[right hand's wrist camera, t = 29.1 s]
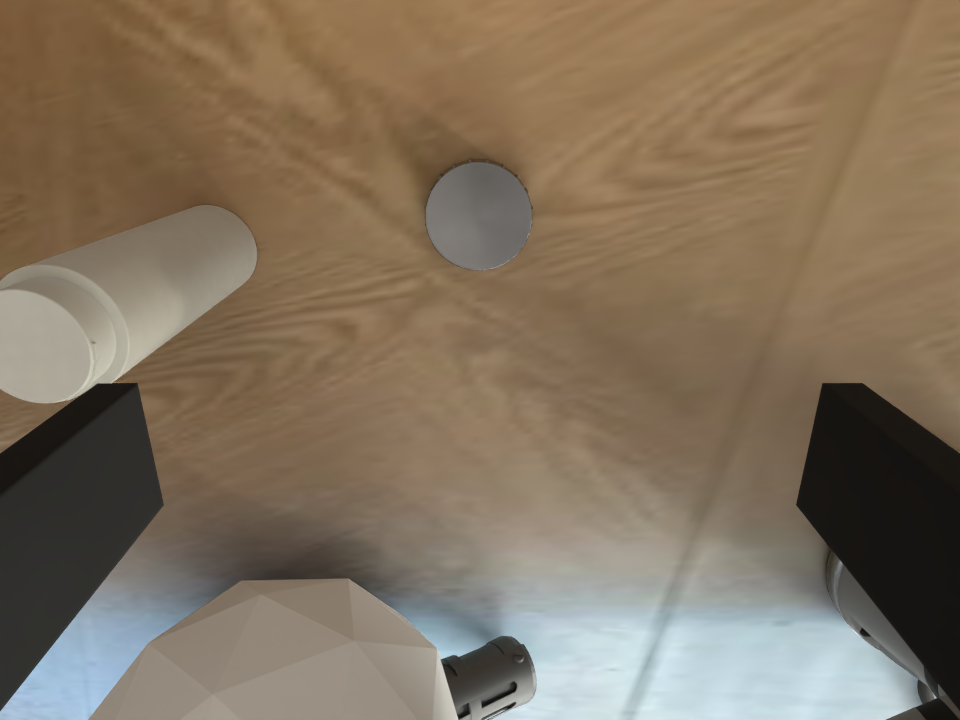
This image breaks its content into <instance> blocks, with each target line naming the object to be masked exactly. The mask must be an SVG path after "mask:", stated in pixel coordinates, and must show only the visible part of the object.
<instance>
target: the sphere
mask: <svg viewBox="0 0 960 720" xmlns="http://www.w3.org/2000/svg"><path fill="white" fill-rule="evenodd" d="M536 685H537V684H536V673H535V669H534V665H533V662H532V659H531V657H530V655H529V652H528V651H527V649H526V647H525V646H524V644H520V643H519V642H518V641H517V640H516V639H515V638H513V637H510V636H501V637H498V638H496V639H494V640H492V641H490V642H488V643H487V644H486V645H484V646H483V647H481V648H479V649H476V650H474V651H472V652H470V653H467V654H465V655H463V656H460V657H458V656H455V655H452V656H449V657H447V658H444V659H440V656H439V653H438V649H437V648H436V647H435V646H434V645H433V644H432V643H431V642H430V641H429V640H428V639H427V638H426V637H425V636H424V635H422V634H421V633H420V632H419V631H418V630H417V629H416V628H415V627H414V626H413V625H412V624H411V623H410V622H409V621H408V620H407V619H406V618H405V617H404V616H403V615H401V614H400V613H398V612H397V611H395V610H394V609H392V608H391V607H390V606H388V605H387V604H385V603H384V602H382V601H381V600H379V599H378V598H376V597H375V596H373V595H372V594H370V593H369V592H367V591H366V590H364V589H363V588H362V587H360V586H359V585H357V584H356V583H354V582H353V581H351V580H350V579H300V580H247V581H240V582H238V583H237V584H235V585H234V586H232V587H231V588H229V589H228V590H226V591H225V592H223V593H222V594H220V595H219V596H218V597H216V598H215V599H213V600H212V601H210V602H209V603H207V604H206V605H204V606H203V607H201V608H200V609H198V610H197V611H195V612H194V613H192V614H191V615H189V616H188V617H186V618H185V619H183V620H182V621H180V622H179V623H177V624H176V625H174V626H173V627H172V628H170V629H169V630H167V631H166V632H164V633H163V634H161V635H160V636H158V637H157V638H155V639H154V640H152V641H151V642H149V643H148V644H147V645H146V647H145V648H144V649H143V651H142V652H141V653H140V654H139V656H138V657H137V658H136V660H135V661H134V662H133V663H132V665H131V666H130V667H129V668H128V670H127V671H126V672H125V674H124V675H123V676H122V677H121V679H120V680H119V681H118V683H117V684H116V685H115V686H114V688H113V689H112V690H111V691H110V693H109V694H108V695H107V697H106V698H105V699H104V700H103V702H102V703H101V704H100V705H99V707H98V708H97V709H96V711H95V712H94V713H93V714H92V716H91V717H90V718H89V720H485V719H487V718H489V717H490V716H492V715H494V714H496V713H498V712H500V711H502V710H505V711H503V712H501V713H499V714H497V715H495V716H493V717H491V718H489V719H487V720H492V719H494V718H496V717H497V716H499V715H501V714H503V713H505V712H507V711H509V710H511V709H513V708H516V707H518V706H521V705H523V704H526V703H528V702H529V701H530V700H531V699H532V698H533V696H534V695H535V692H536Z"/></svg>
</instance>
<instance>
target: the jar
mask: <svg viewBox="0 0 960 720" xmlns="http://www.w3.org/2000/svg"><path fill="white" fill-rule="evenodd" d="M256 263H257V247H256V243H255V240H254V237H253V235H252V233H251V231H250V230H249V228H248V227H247V225H246V224H245V223H244V222H243V221H242V220H241V219H240V218H239V217H238V216H236V215H235V214H234V213H232V212H230V211H228V210H226V209H224V208H221V207H218V206H213V205H200V206H195V207H192V208H189V209H186V210H183V211H180V212H178V213H175V214H172V215H169V216H166V217H163V218H161V219H158V220H155V221H152V222H149V223H146V224H143V225H141V226H138V227H135V228H132V229H129V230H126V231H123V232H121V233H118V234H115V235H112V236H109V237H106V238H104V239H101V240H98V241H95V242H92V243H89V244H86V245H84V246H81V247H78V248H75V249H72V250H69V251H67V252H64V253H61V254H58V255H55V256H52V257H49V258H47V259H44V260H41V261H38V262H35V263H32V264H29V265H27V266H24V267H21V268H19V269H16V270H14V271H12V272H11V273H9V274H8V275H6V276H5V277H4V278H3V279H2V280H1V281H0V389H1V390H3V391H4V392H6V393H8V394H10V395H12V396H14V397H16V398H19V399H22V400H25V401H29V402H35V403H56V402H61V401H66V400H67V401H68V400H71V399H73V398H75V397H77V396H79V395H81V394H83V393H85V392H86V391H88V390H89V389H90V388H92V387H93V386H94V385H96V384H97V383H113V382H114V381H115V380H117V379H118V378H119V377H121V376H122V375H123V374H125V373H126V372H127V371H129V370H130V369H131V368H133V367H134V366H135V365H137V364H138V363H139V362H141V361H142V360H143V359H145V358H146V357H147V356H149V355H150V354H151V353H152V352H154V351H155V350H156V349H158V348H159V347H160V346H162V345H163V344H164V343H166V342H167V341H168V340H170V339H171V338H172V337H174V336H175V335H176V334H178V333H179V332H180V331H182V330H183V329H184V328H186V327H187V326H188V325H190V324H191V323H192V322H194V321H195V320H196V319H198V318H199V317H200V316H202V315H203V314H204V313H206V312H207V311H208V310H210V309H211V308H212V307H214V306H215V305H216V304H218V303H219V302H220V301H222V300H223V299H224V298H226V297H227V296H228V295H230V294H231V293H232V292H234V291H235V290H236V289H238V288H239V287H240V286H242V285H243V284H244V283H245V282H246V281H247V280H248V279H249V278H250V277H251V275H252V274H253V272H254V270H255V267H256Z"/></svg>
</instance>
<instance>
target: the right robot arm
mask: <svg viewBox="0 0 960 720" xmlns="http://www.w3.org/2000/svg"><path fill="white" fill-rule="evenodd" d="M163 505H164V504H163V499H162V494H161V490H160V485H159V481H158V476H157V471H156V467H155V462H154V457H153V453H152V448H151V444H150V439H149V434H148V430H147V425H146V420H145V416H144V411H143V407H142V402H141V397H140V393H139V388H138V383H97V384H96V385H94V386H93V387H92V388H90V389H89V390H88V391H86V392H85V393H83V394H82V395H81V396H79V397H78V398H77V399H75V400H74V401H72V402H71V403H70V404H68V405H67V406H65V407H64V408H63V409H61V410H60V411H59V412H57V413H56V414H54V415H53V416H52V417H50V418H49V419H48V420H46V421H45V422H43V423H42V424H41V425H39V426H38V427H36V428H35V429H34V430H32V431H31V432H30V433H28V434H27V435H25V436H24V437H23V438H21V439H20V440H19V441H17V442H16V443H14V444H13V445H12V446H10V447H9V448H7V449H6V450H5V451H3V452H2V453H1V454H0V711H1V710H2V708H3V707H4V706H5V705H6V703H7V702H8V701H9V699H10V698H11V697H12V696H13V694H14V693H15V692H16V691H17V689H18V688H19V687H20V686H21V684H22V683H23V682H24V681H25V679H26V678H27V677H28V676H29V674H30V673H31V672H32V670H33V669H34V668H35V667H36V665H37V664H38V663H39V662H40V660H41V659H42V658H43V657H44V655H45V654H46V653H47V652H48V650H49V649H50V648H51V647H52V645H53V644H54V643H55V641H56V640H57V639H58V638H59V636H60V635H61V634H62V633H63V631H64V630H65V629H66V628H67V626H68V625H69V624H70V623H71V621H72V620H73V619H74V618H75V616H76V615H77V614H78V612H79V611H80V610H81V609H82V607H83V606H84V605H85V604H86V602H87V601H88V600H89V599H90V597H91V596H92V595H93V594H94V592H95V591H96V590H97V589H98V587H99V586H100V585H101V583H102V582H103V581H104V580H105V578H106V577H107V576H108V575H109V573H110V572H111V571H112V570H113V568H114V567H115V566H116V565H117V563H118V562H119V561H120V560H121V558H122V557H123V556H124V554H125V553H126V552H127V551H128V549H129V548H130V547H131V546H132V544H133V543H134V542H135V541H136V539H137V538H138V537H139V536H140V534H141V533H142V532H143V531H144V529H145V528H146V527H147V526H148V524H149V523H150V522H151V520H152V519H153V518H154V517H155V515H156V514H157V513H158V512H159V510H160V509H161V508H162V507H163ZM796 505H797V507H798V508H799V509H800V510H801V512H802V513H803V514H804V515H805V517H806V518H807V519H808V520H809V522H810V523H811V524H812V526H813V527H814V528H815V529H816V531H817V532H818V533H819V534H820V536H821V537H822V538H823V539H824V541H825V542H826V543H827V544H828V546H829V547H830V548H831V551H830V554H829V558H828V562H827V568H826V581H827V587H828V591H829V594H830V597H831V599H832V601H833V603H834V605H835V606H836V608H837V609H838V611H839V612H840V613H841V615H842V616H843V618H844V619H845V621H846V622H847V623H848V625H849V626H850V627H851V628H852V629H853V630H854V631H855V632H856V633H857V634H858V635H859V636H860V637H862V638H863V639H864V640H865V641H867V642H868V643H869V644H871V645H872V646H874V647H875V648H877V649H879V650H880V651H882V652H883V653H884V654H885V655H886V656H888V657H889V658H890V659H891V660H893V661H894V662H895V663H897V664H898V665H900V666H901V667H902V668H904V669H905V670H907V671H908V672H909V673H911V674H912V675H913V676H915V677H916V678H918V693H919V696H920V699H921V701H922V704H923V705H920V706H918V707H916V708H915V707H914V708H912V709H910V710H907V711H905V712H903V713H900V714H898V715H896V716H893V717H891V718H889V719H887V720H960V454H959V453H958V452H957V451H955V450H954V449H953V448H951V447H950V446H948V445H947V444H946V443H944V442H943V441H941V440H940V439H939V438H937V437H936V436H935V435H933V434H932V433H930V432H929V431H928V430H926V429H925V428H924V427H922V426H921V425H919V424H918V423H917V422H915V421H914V420H912V419H911V418H910V417H908V416H907V415H906V414H904V413H903V412H901V411H900V410H899V409H897V408H896V407H895V406H893V405H892V404H890V403H889V402H888V401H886V400H885V399H883V398H882V397H881V396H879V395H878V394H877V393H875V392H874V391H872V390H871V389H870V388H868V387H867V386H866V385H864V384H863V383H822V388H821V393H820V397H819V402H818V407H817V411H816V416H815V420H814V425H813V430H812V434H811V439H810V444H809V448H808V453H807V457H806V462H805V467H804V471H803V476H802V481H801V485H800V490H799V494H798V499H797V504H796ZM932 692H933V693H934V695H935V696H936V697H937V698H936V699H934V697H933V693H932Z"/></svg>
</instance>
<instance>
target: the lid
mask: <svg viewBox="0 0 960 720" xmlns="http://www.w3.org/2000/svg"><path fill="white" fill-rule="evenodd" d="M518 178H519V177H518V176H517V174H516V175H515V174H514V173H513V172H511V171H510V170H509V169H507V168H506V167H505V166H504V164H502V165H501V164H499V163H496V162H493V161H489V160H488V159H486V160H481V159H476V160H472V159H469V160H468V161H464V162H461V163H459V164H457V165H456V164H454V165H453V167H451V168H450V169H448V170H447V171H446V172H445V173H444V174H443V175H442V174H441V175H440V176H439V179H438V181H437V182H436V184H435V185H434V187H433V188H431V189H430V191H429V192H430V195H429V197H428V200H427V204H426V206H425V209H426V210H425V222H426V223H425V226H426V228H427V232H428V235H429V238H430V240H431V242H432V244H433V245H434V247H435V248H436V250H437V251H438V252H439V253H440V254H441V255H442V256H443V257H444V258H445V259H446V260H448V261H449V262H451V263H453V264H455V265H457V266H459V267H462V268H465V269H470V270H488V269H493V268H496V267H499V266H501V265H503V264H505V263H506V262H508V261H509V260H511V259H512V258H513V257H514V256H516V254H517V253H518V252H519V251H520V250H521V249H522V247H523V246H524V244H525V242H526V241H527V238H528V236H529V233H530V229H531V226H532V209H533V207H532V206H531V203H530V200H529V197H528V194H527V193H528V191H527V189H526V188H524V186H523V185H522V183H521V181H520V180H519V179H518Z"/></svg>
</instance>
